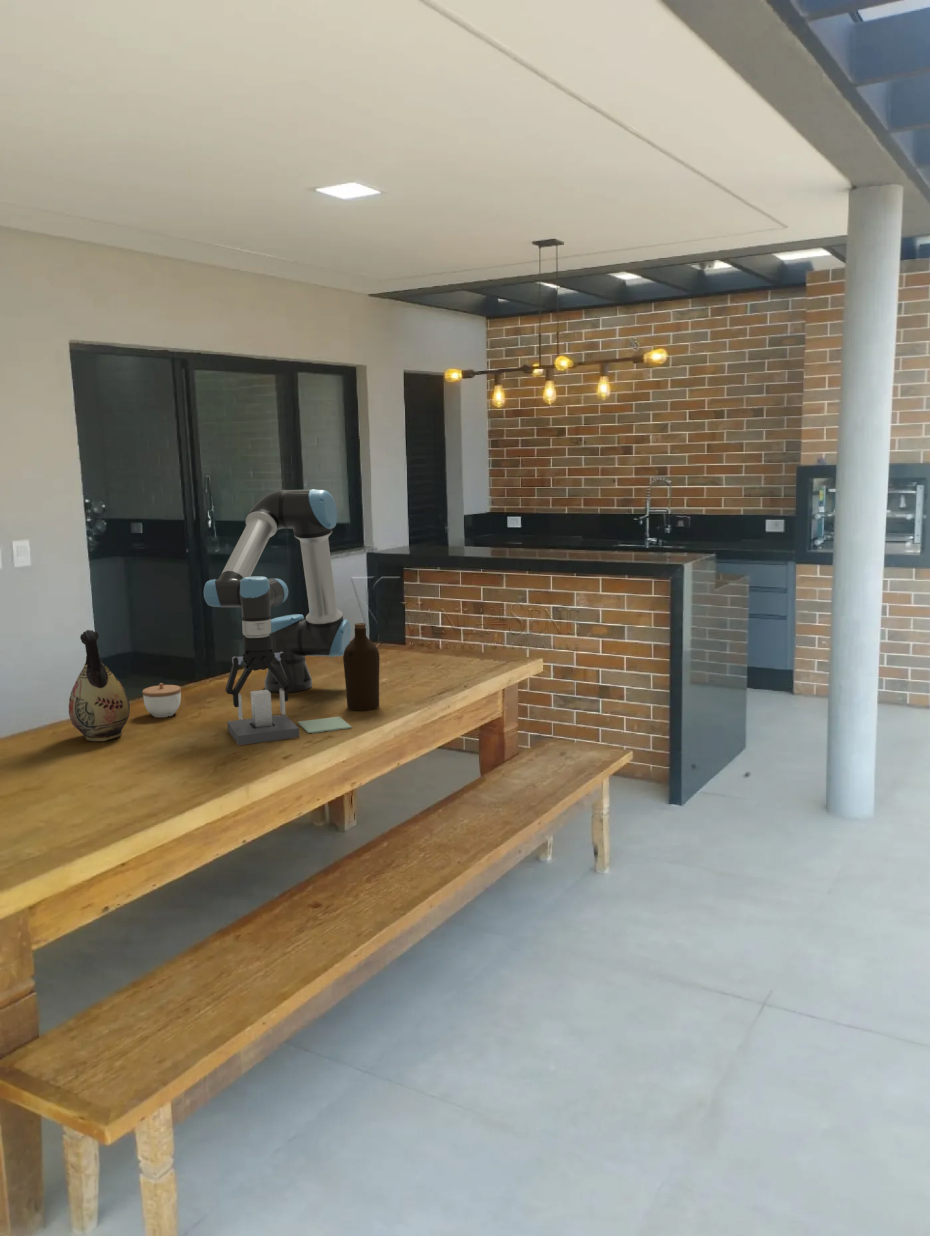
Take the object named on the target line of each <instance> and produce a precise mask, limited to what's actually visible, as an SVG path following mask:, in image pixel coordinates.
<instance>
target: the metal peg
mask: <svg viewBox="0 0 930 1236" xmlns="http://www.w3.org/2000/svg"><path fill="white" fill-rule="evenodd" d="M250 705H251V706H250V707H251V718H252V726H253V729H256V728H264V727H272V726H273V725H272V716H273V709H272V708H273V707H272V692H271V691H268V690H265V689H262V690H261V689H259V690H251V691H250Z"/></svg>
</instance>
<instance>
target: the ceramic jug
mask: <svg viewBox="0 0 930 1236" xmlns="http://www.w3.org/2000/svg"><path fill="white" fill-rule="evenodd" d="M79 638H80V640H81V643H82V644H84V647H85V653H86V656H85V663H84V665H83V668H82V670H80V673H79V674H78V677H77V679H76V681H75V683H74V685H73V687H72V689H71V692H70V696H69V700H68V716H69V720H70V721H71V724H72V725H73V727H74V728H76V729H77V730H78V731H79V732H80V733H81V734H82V736H84V737H85V740H86V741H90V742H106V741H108V740H112V739H116V738H118V737H121V736H122V734H123V733H122V730H123V728H124V727H125V726H126V723H127V722H128V720H129V717H130V713H131V707H130V706H131V705H130V700H129V697H128V695H127V692H126V690H125V687H123V685H122V683H121V681H119V679H118V678H117V677H116V676H115V674H114V673H113V672H112V671H111V670H110V669H109V668H108V666H106V665H105V664H104V663H103V660H102V659H101V657H100V653H99V647H98V643H97V642H98V640H99V638H100V635H99V632H97V631H94V630H91V629H87V630H86V631H83V633H81V634H80V635H79Z"/></svg>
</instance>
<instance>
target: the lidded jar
mask: <svg viewBox="0 0 930 1236" xmlns="http://www.w3.org/2000/svg"><path fill="white" fill-rule="evenodd" d="M181 691H182V688H181V686H179V685H175V684H164V683H163V682H160V683H159V684H158V685H152V686H149V687H146V688H143V690H142V692H141V693H142V698H143V704H144V707H145V709H146V711H147V713H149V714H150V715H152V717H153V716H154V717H153V718H167V717H168V716H169V717H172V716H174V715H175V713H176V712H177V711H178V709H179V707H180V705H181V701H182V694H181Z"/></svg>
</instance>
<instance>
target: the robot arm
mask: <svg viewBox="0 0 930 1236" xmlns="http://www.w3.org/2000/svg"><path fill="white" fill-rule="evenodd" d="M337 516H338V509H337V506H336V501H335V500H334V497H333V495H332V494H331V493H330V492H329V491H328V490H325V489H316V488H312V489H310V488H308V489H281V490H275V491H273V492H270V493H268V494H267V495H265V496H264V497H262V498H261V499H260V500H259V501H257V503H256V504H255V505H254V506H253V507H252V508H251V509H250V511H249V512H248V514H247V516H246V518H245V527H244V528H243V529H244V530H243V531H242V534H241V535H240V537H239V539H238V541H237V543H236V545H235V546H234V548H233V551H232V553H231V554H230V556H229V558H228V560H227V562H226V564H225V566H224V568H223V570H222V572H221V574H220V575H219V577H218V579H216V578H214V579H210V580H208V581H206V582H205V584H204V587H203V599H204V600H205V604H207V605H208V606H210V607H214V608H241V610H240V611H241V623H242V624H241V625H242V627H241V629H242V635H243V638H242V641H243V643H242V645H243V653H242V656H236V655H233V656H231V663H232V664H231V669H230V670H229V671H230V672H229V676H228V678H227V683H226V687H225V692H226V693H227V694H228V695H231V696H232V704H233V707H234V708H237V718H238V720H243V719H244V717H243V716H244V715H243V704H242V703H243V701H242V697H243V696H242V694H240V692H241V691H242V689H243V687H244V685H245V684H246V681H247V680H248V678H249V676H250V674H252V672H253V671H255V672H257V671H259V670H261V671H265V670H267V672H266V675H265V677H264V678H265V679H264V690H268V691H269V692H270V693H272V692H273V693H279V694H278V695H279V711H280V713H281V715H284V714H285V715H286V702H289V693H292V692H293V693H294V692H300V691H305V690H308V689H311V687H313V678H312V676H311V673H310V670H309V668H308V665H307V662H306V660H307V659H306V657H329V658H333V657H342V656H343V654H344V650H345V648H346V647H347V645H348V644H349V643H350V642H351V634H352V633H351V632H352V627H351V626H352V625H351V622H350V621H349V619H348V620H347V619H344V614H343V612H342V610H339V608H338V606H337V598H336V591H335V581H334V575H333V573H334V572H333V568H332V566H333V565H332V559H331V552H330V541H329V537H330V536H331V534H333V529H334V528H335V527H336V525H337V521H338V517H337ZM281 529H287V530H288V529H289V530H290V529H292V530H293V536H294V538H295V539H297V540H299V543H300V552H301V559H302V564H303V565H302V566H303V572H304V579H305V587H306V595H307V600H308V601H307V602H308V608H309V613H307V614H306V616H305V617H304V615H303V614H299V613H297V614H296V613H295V614H287V615H283V616H278V617H274V618H272V616H271V614H272V613H271V609H272V608H275V607H278V606H280V605H282V604H283V603H285V601H287V599H288V597H289V596H288V595H289V588H288V586H287V583H285V581H284V580H282V579H280V578H274V577H273V578H268V577H266V576H262V575H261V576H256V575H255V576H252V574H253V572H254V570H255V568H256V567H257V564H258V562H259V560H260V557H261V556H262V553H263V552H264V549H265V547H266V545H267V544H268V542H269V540H270V538H272V537H273V536H275V534H276V533H277V531H279V530H281ZM242 662H244V663H245V664H246V665H245V667H244V669H243V671H242V673H241V674H240V676H239V678H238V681H237V682H236V677H237V674H238V671H239V666H241V665H242V664H241V663H242ZM235 682H236V684H235ZM234 684H235V686H234Z"/></svg>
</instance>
